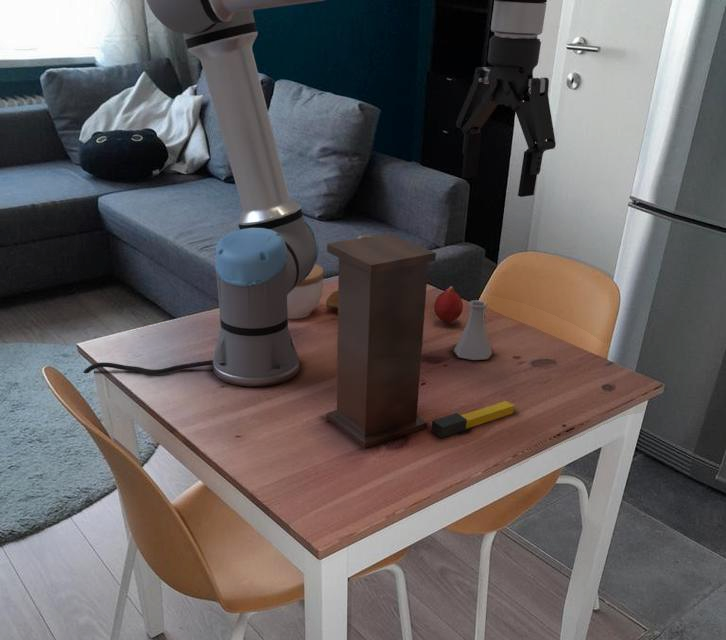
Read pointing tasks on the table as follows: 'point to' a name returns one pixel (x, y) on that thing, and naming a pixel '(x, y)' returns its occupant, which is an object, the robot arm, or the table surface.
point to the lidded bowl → (306, 294)
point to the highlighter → (470, 419)
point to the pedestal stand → (379, 336)
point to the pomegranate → (448, 306)
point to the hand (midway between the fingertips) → (496, 186)
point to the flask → (474, 335)
